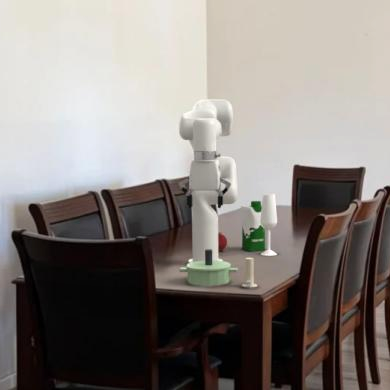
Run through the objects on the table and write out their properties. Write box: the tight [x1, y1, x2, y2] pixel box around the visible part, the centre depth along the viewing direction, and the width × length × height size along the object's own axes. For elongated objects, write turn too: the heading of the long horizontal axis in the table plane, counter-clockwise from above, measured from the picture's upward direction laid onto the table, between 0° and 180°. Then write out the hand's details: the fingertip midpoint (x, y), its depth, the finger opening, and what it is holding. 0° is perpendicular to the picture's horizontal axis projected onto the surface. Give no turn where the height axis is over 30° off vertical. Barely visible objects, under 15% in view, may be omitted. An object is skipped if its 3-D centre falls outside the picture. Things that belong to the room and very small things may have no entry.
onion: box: [218, 231, 228, 252], centre depth 315 cm, size 6×6×8 cm
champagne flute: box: [260, 192, 278, 257], centre depth 309 cm, size 7×7×24 cm
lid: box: [186, 249, 232, 271], centre depth 258 cm, size 14×14×6 cm
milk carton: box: [240, 200, 266, 252], centre depth 319 cm, size 9×9×20 cm
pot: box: [179, 267, 239, 287], centre depth 258 cm, size 13×19×6 cm
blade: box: [241, 257, 258, 289], centre depth 252 cm, size 8×5×10 cm, turn 0°
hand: (205, 207), depth 262 cm, fingers open, 9 cm apart
